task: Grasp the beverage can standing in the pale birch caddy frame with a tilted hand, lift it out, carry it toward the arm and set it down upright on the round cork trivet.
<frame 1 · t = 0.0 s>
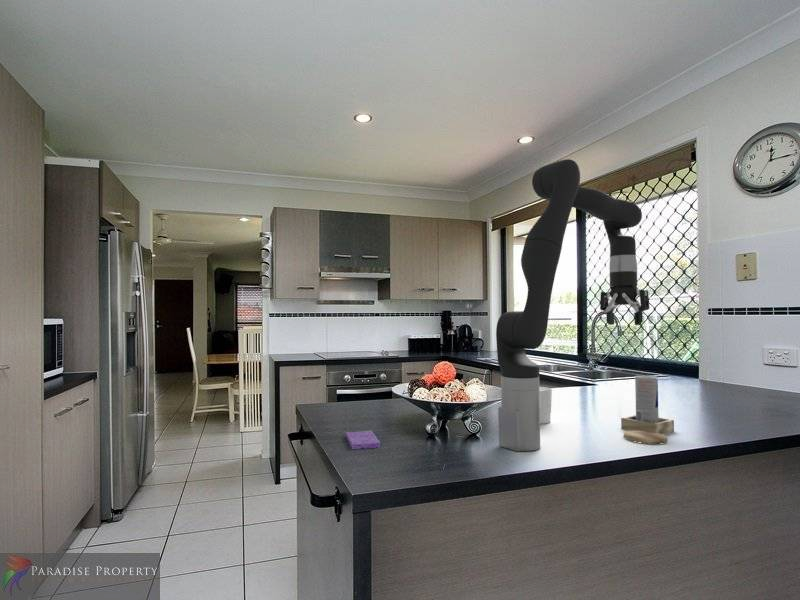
hand: (624, 324, 141), 29 cm above the countertop, tool pointing down, fingers open, 8 cm apart
trivet: (645, 438, 122), on the countertop
beverage can: (647, 430, 131), resting in caddy
sponges: (362, 444, 120), on the countertop
white cup: (538, 422, 142), on the countertop
caddy: (647, 429, 131), on the countertop
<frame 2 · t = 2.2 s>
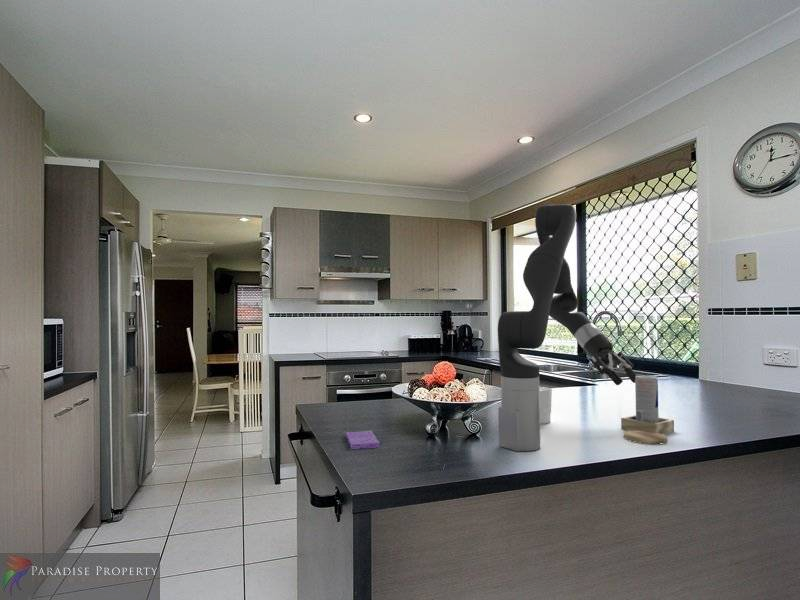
hand: (628, 382, 136), 13 cm above the countertop, tool tilted 45°, fingers open, 8 cm apart
nothing on the countertop moved.
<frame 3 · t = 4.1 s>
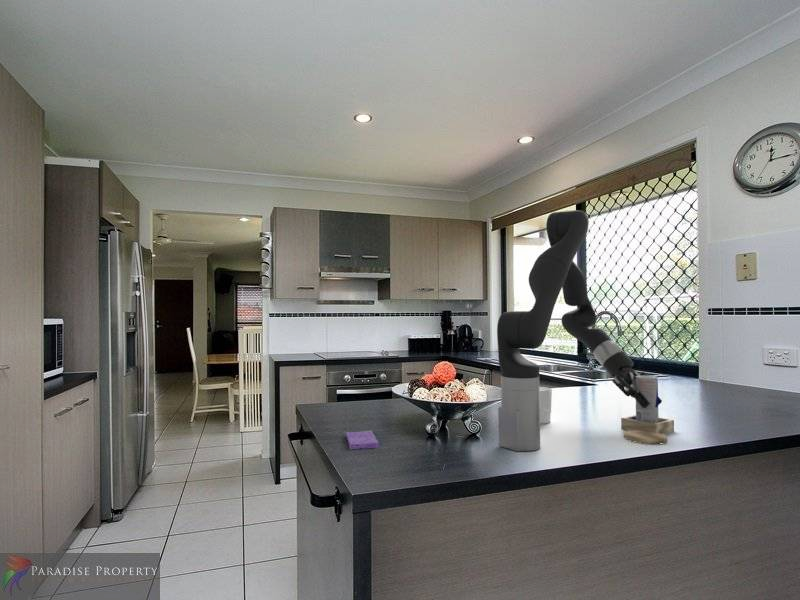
hand: (653, 404, 130), 7 cm above the countertop, tool tilted 45°, fingers closed on beverage can, 5 cm apart
beverage can: (647, 430, 131), resting in caddy, touching gripper
everything else where it was.
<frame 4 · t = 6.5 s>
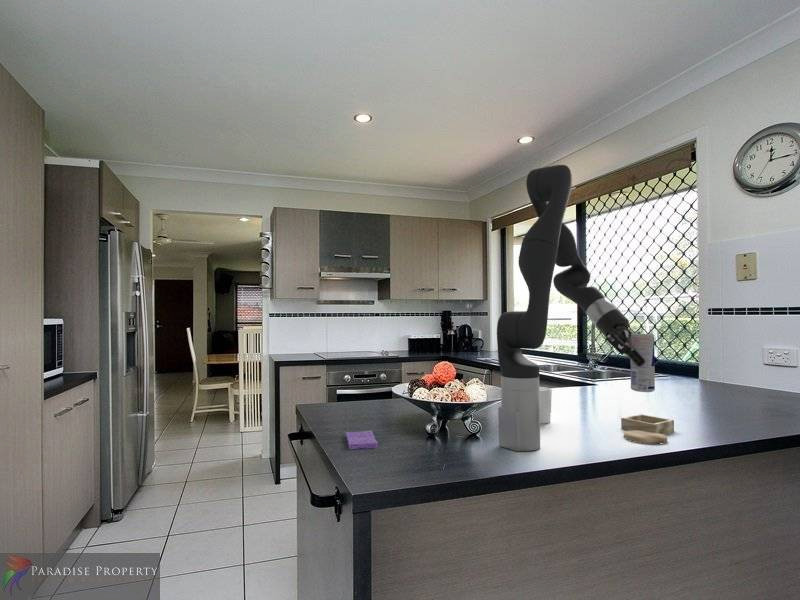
hand: (649, 363, 121), 20 cm above the countertop, tool tilted 45°, fingers closed on beverage can, 5 cm apart
beverage can: (642, 391, 123), point 12 cm above the countertop, touching gripper
everything else where it was.
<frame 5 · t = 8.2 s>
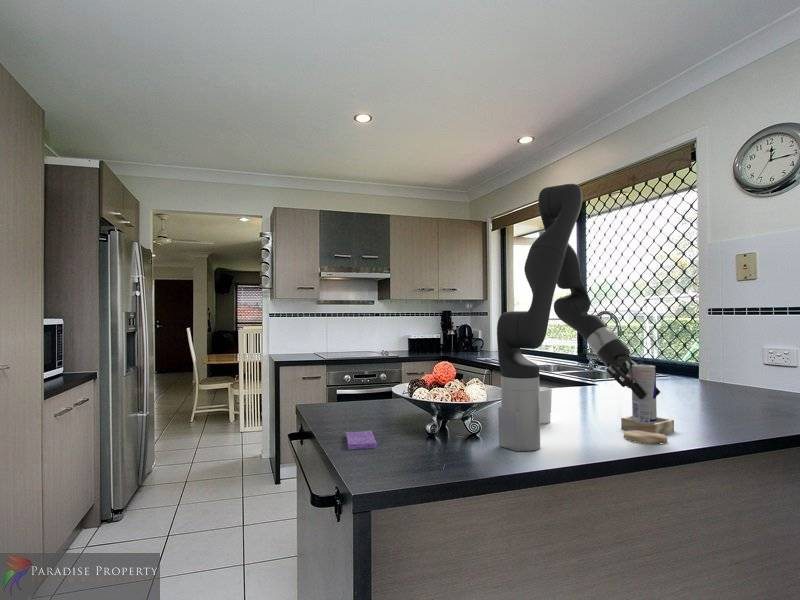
hand: (650, 395, 121), 11 cm above the countertop, tool tilted 45°, fingers closed on beverage can, 5 cm apart
beverage can: (644, 423, 122), point 4 cm above the countertop, touching gripper
everything else where it was.
when the fingers open (9 cm above the countertop, at t = 9.3 s): beverage can stays where it is, resting on trivet.
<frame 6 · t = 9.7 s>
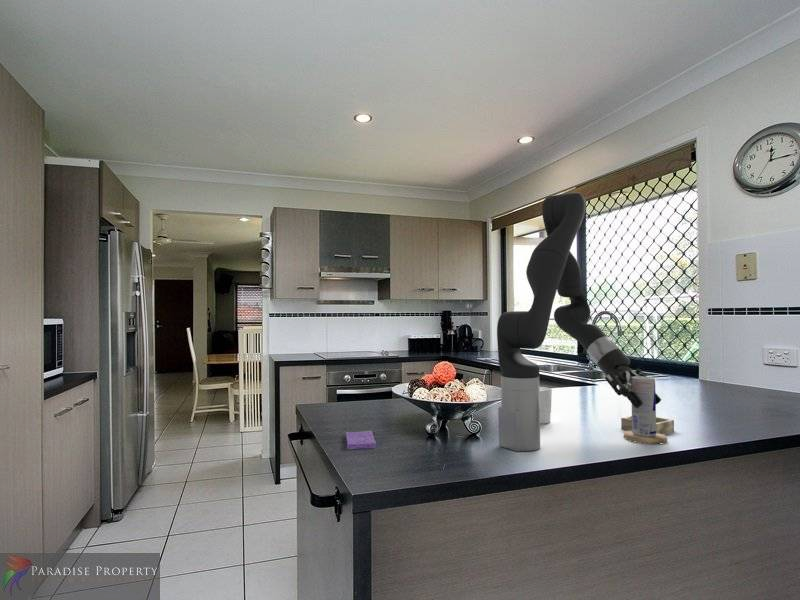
hand: (649, 404, 121), 9 cm above the countertop, tool tilted 45°, fingers open, 8 cm apart
beverage can: (644, 435, 122), point 1 cm above the countertop, touching trivet
everything else where it was.
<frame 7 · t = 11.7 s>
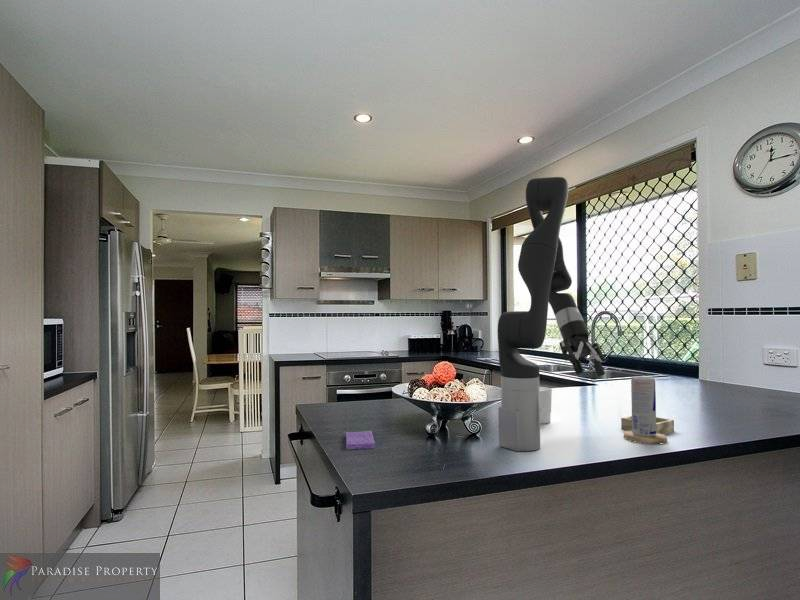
hand: (591, 374, 133), 15 cm above the countertop, tool tilted 30°, fingers open, 8 cm apart
nothing on the countertop moved.
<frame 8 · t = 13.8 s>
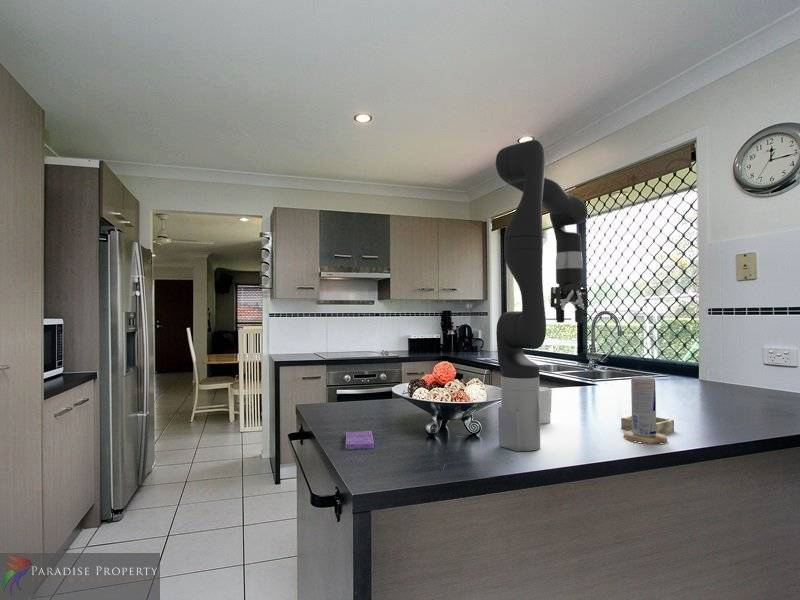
hand: (569, 322, 139), 30 cm above the countertop, tool pointing down, fingers open, 8 cm apart
nothing on the countertop moved.
at the end: beverage can inside the target area on the trivet (0.2 cm from its centre), point 0.8 cm above the trivet's base; beverage can tilted 0°; the gripper is holding nothing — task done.
